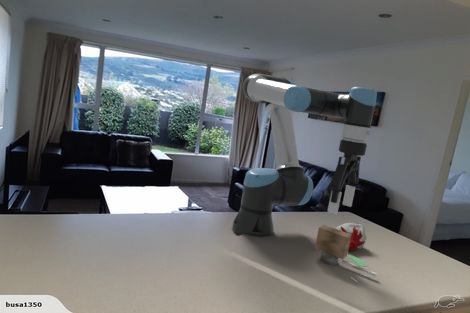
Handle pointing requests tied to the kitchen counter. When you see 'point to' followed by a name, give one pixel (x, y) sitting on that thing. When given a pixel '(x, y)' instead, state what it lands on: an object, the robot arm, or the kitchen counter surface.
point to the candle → (354, 234)
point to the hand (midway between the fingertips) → (339, 209)
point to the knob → (335, 247)
